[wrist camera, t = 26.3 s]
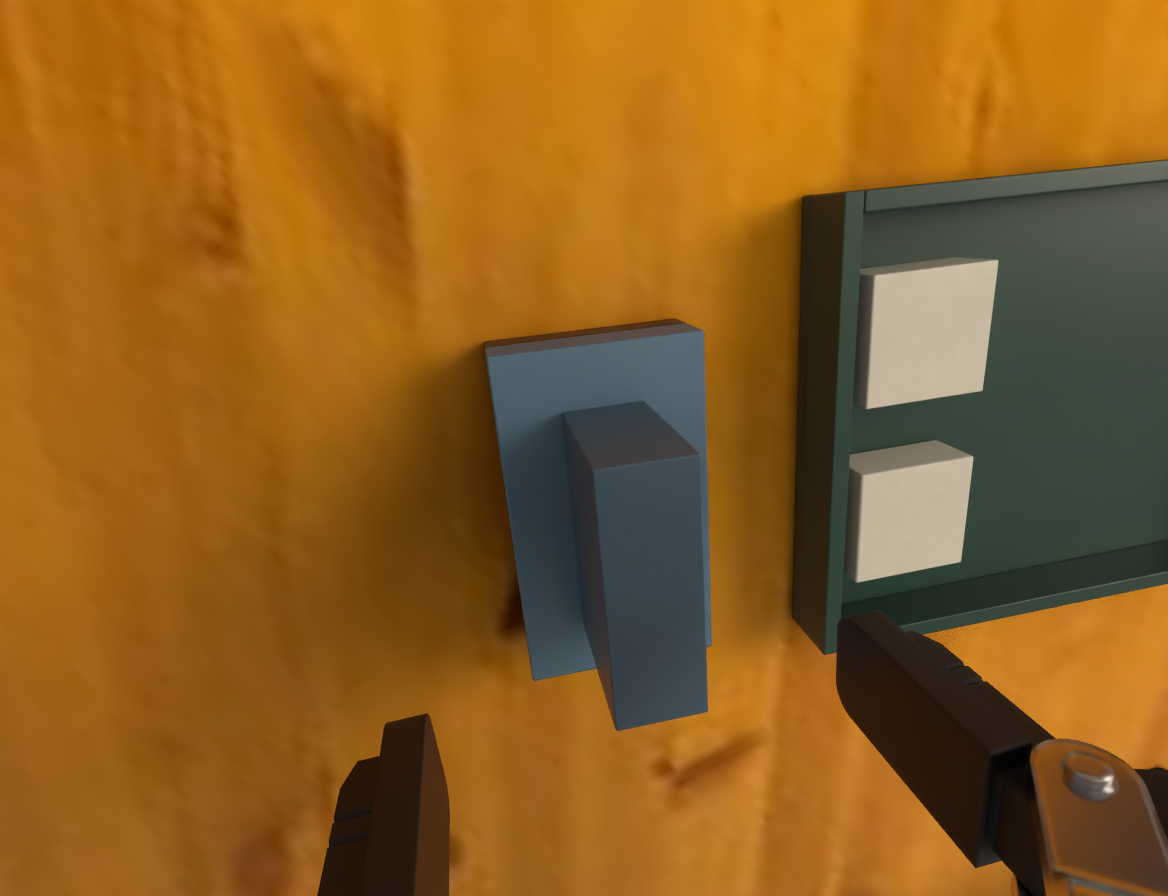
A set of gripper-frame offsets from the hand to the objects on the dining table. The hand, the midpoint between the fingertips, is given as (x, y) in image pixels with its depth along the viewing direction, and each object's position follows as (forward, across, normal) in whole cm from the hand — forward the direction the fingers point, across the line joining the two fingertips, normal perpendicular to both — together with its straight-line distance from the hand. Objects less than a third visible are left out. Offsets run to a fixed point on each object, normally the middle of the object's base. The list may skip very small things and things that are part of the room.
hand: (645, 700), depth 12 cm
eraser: (+10, -1, 0) cm, 10 cm away
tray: (+9, -18, -1) cm, 20 cm away
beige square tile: (+9, -11, +2) cm, 15 cm away
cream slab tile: (+9, -11, -4) cm, 15 cm away
